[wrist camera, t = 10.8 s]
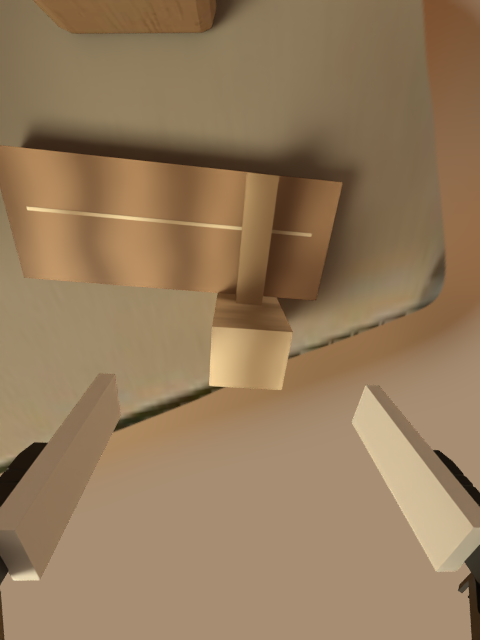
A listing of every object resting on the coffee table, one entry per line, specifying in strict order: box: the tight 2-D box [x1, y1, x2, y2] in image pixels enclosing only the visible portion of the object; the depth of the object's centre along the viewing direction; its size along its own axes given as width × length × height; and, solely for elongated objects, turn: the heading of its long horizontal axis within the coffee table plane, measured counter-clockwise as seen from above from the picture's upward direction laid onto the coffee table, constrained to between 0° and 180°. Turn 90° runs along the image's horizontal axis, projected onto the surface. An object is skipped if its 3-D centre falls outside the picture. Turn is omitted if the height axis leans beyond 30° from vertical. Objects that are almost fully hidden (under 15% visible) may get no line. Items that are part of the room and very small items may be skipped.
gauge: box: [209, 173, 293, 390], centre depth 19 cm, size 5×14×9 cm, turn 175°
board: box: [0, 145, 343, 300], centre depth 20 cm, size 24×9×2 cm, turn 85°
